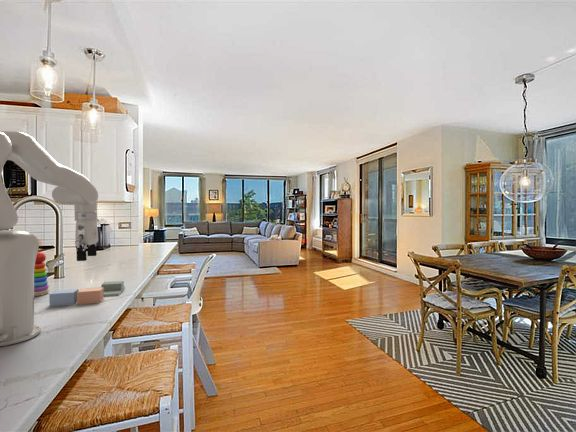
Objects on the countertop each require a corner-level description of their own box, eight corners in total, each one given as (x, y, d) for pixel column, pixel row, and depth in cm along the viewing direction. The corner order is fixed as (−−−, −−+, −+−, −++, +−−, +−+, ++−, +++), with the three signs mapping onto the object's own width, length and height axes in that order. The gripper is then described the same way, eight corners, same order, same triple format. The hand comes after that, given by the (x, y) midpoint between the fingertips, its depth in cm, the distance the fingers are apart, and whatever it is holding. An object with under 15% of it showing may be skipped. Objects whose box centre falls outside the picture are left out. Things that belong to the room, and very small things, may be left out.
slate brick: (73, 304, 114) (73, 292, 113) (49, 306, 111) (49, 294, 111) (78, 301, 118) (78, 289, 118) (55, 302, 116) (55, 290, 116)
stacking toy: (20, 297, 121) (20, 253, 121) (32, 292, 129) (32, 251, 129) (43, 296, 123) (43, 253, 123) (52, 291, 131) (52, 250, 131)
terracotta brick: (100, 302, 117) (100, 290, 117) (77, 304, 114) (77, 292, 114) (103, 299, 121) (103, 287, 121) (81, 300, 119) (81, 288, 119)
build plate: (118, 295, 126) (118, 286, 126) (75, 298, 121) (75, 289, 121) (124, 287, 139) (124, 279, 139) (86, 290, 133) (86, 281, 133)
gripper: (87, 218, 108) (88, 262, 109) (104, 215, 125) (105, 254, 126) (64, 218, 107) (65, 263, 108) (84, 215, 123) (85, 254, 124)
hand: (87, 258), depth 117 cm, fingers open, 9 cm apart
